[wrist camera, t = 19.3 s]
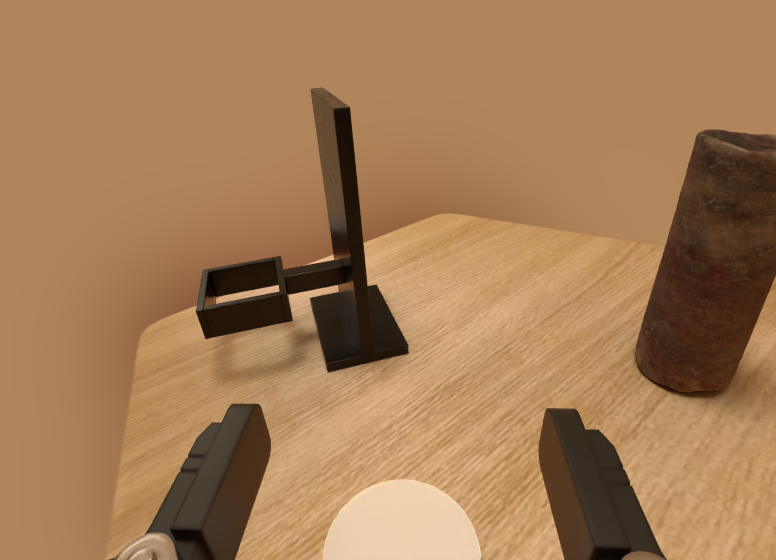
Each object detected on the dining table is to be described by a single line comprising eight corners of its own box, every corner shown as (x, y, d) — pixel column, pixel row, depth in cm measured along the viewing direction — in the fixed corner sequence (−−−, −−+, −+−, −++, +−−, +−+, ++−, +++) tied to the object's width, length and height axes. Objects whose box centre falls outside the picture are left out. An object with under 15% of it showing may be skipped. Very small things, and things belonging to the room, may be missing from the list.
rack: (219, 398, 39) (123, 132, 27) (224, 322, 49) (155, 104, 37) (408, 352, 42) (397, 101, 31) (377, 291, 52) (359, 83, 41)
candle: (631, 332, 43) (691, 122, 33) (720, 349, 40) (816, 124, 30) (633, 384, 37) (707, 147, 27) (737, 408, 34) (864, 154, 24)
